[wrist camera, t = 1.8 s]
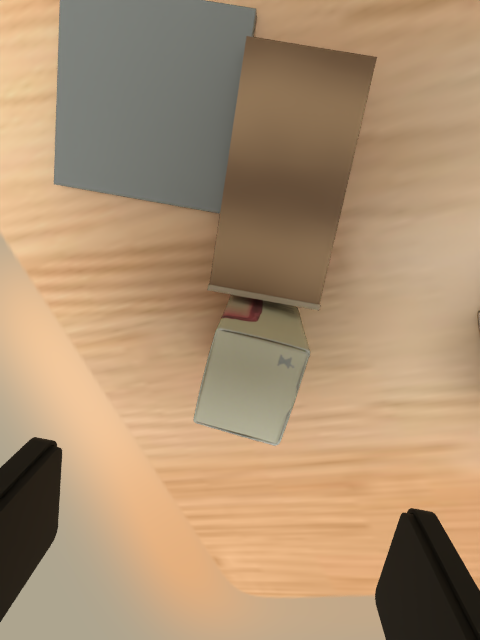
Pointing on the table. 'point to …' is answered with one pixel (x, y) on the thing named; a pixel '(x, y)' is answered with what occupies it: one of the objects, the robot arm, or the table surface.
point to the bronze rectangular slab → (288, 169)
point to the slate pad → (149, 97)
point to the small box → (253, 370)
